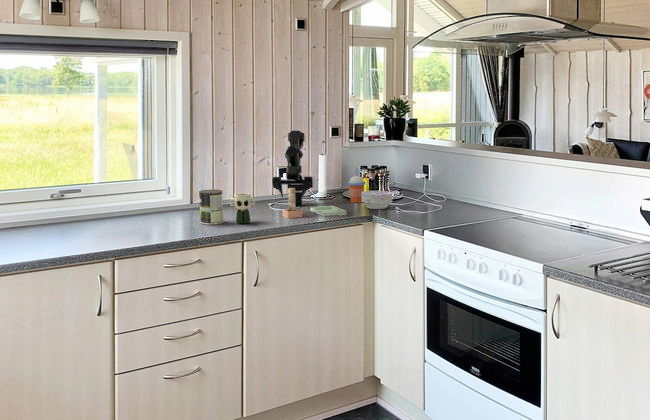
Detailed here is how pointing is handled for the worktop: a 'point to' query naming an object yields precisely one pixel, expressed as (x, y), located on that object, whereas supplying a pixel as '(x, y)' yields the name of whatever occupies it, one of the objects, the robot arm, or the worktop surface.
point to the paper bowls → (377, 199)
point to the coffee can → (211, 207)
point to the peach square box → (292, 213)
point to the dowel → (292, 199)
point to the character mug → (242, 206)
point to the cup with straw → (356, 188)
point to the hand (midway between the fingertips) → (292, 196)
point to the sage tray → (328, 210)
